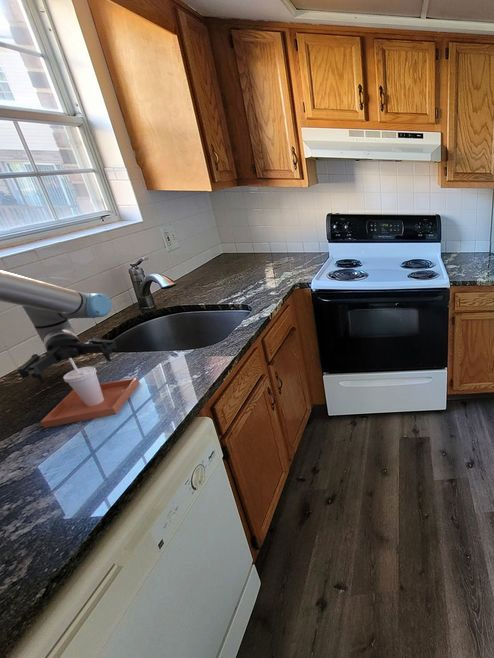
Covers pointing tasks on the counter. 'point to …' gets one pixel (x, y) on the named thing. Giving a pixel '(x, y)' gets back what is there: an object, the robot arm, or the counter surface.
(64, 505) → the counter surface
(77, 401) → the tray
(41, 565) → the counter surface
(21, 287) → the robot arm
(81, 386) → the smoothie
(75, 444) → the counter surface
